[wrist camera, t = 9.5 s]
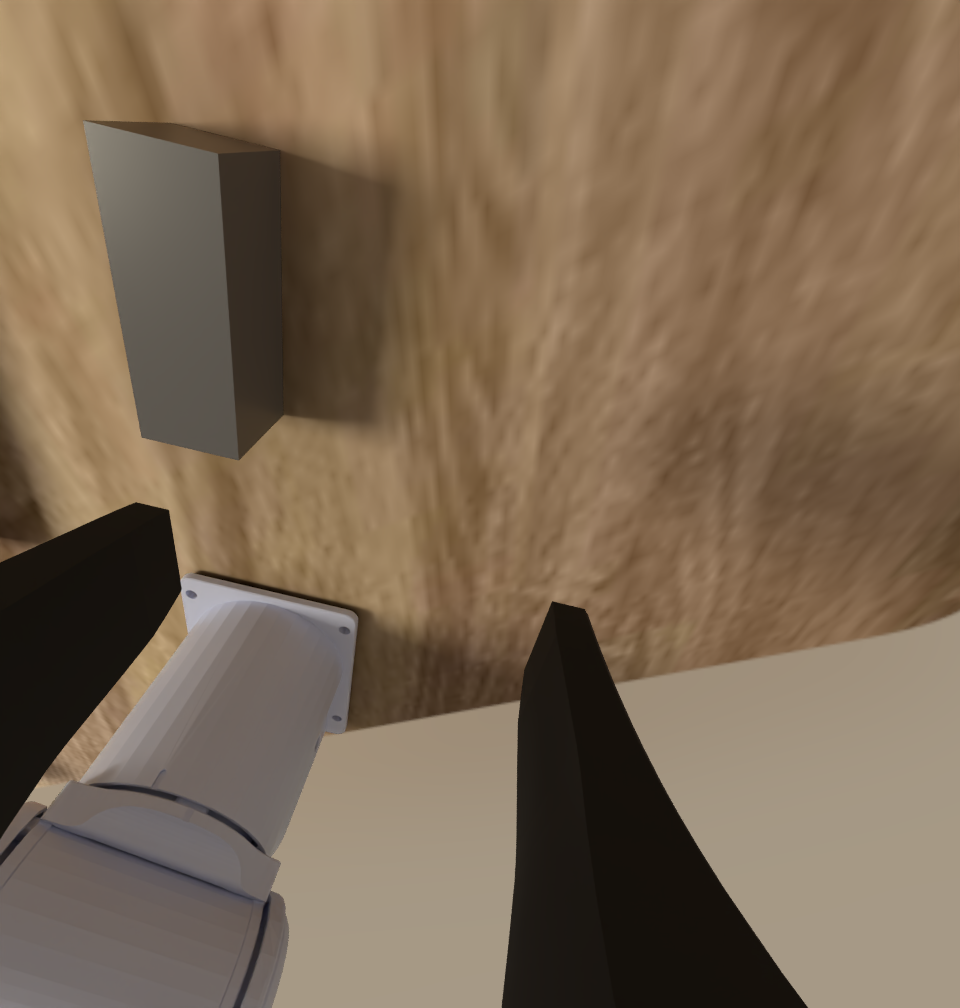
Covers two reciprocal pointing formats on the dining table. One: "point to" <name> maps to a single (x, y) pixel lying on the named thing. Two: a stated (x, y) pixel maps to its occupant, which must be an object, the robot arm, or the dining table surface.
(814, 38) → the dining table surface
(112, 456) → the dining table surface
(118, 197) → the lid
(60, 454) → the dining table surface
